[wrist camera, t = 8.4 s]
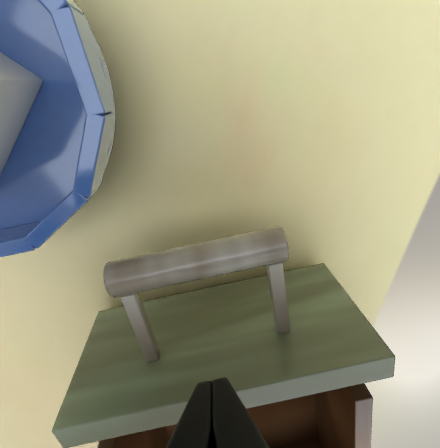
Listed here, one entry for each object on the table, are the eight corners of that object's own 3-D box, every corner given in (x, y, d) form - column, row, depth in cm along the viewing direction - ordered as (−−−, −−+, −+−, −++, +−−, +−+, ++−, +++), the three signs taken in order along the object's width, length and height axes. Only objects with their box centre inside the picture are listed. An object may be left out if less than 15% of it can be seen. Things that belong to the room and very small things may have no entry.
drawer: (63, 233, 16) (-19, 330, 9) (319, 179, 16) (405, 240, 9) (167, 460, 24) (159, 589, 18) (331, 424, 24) (380, 540, 18)
